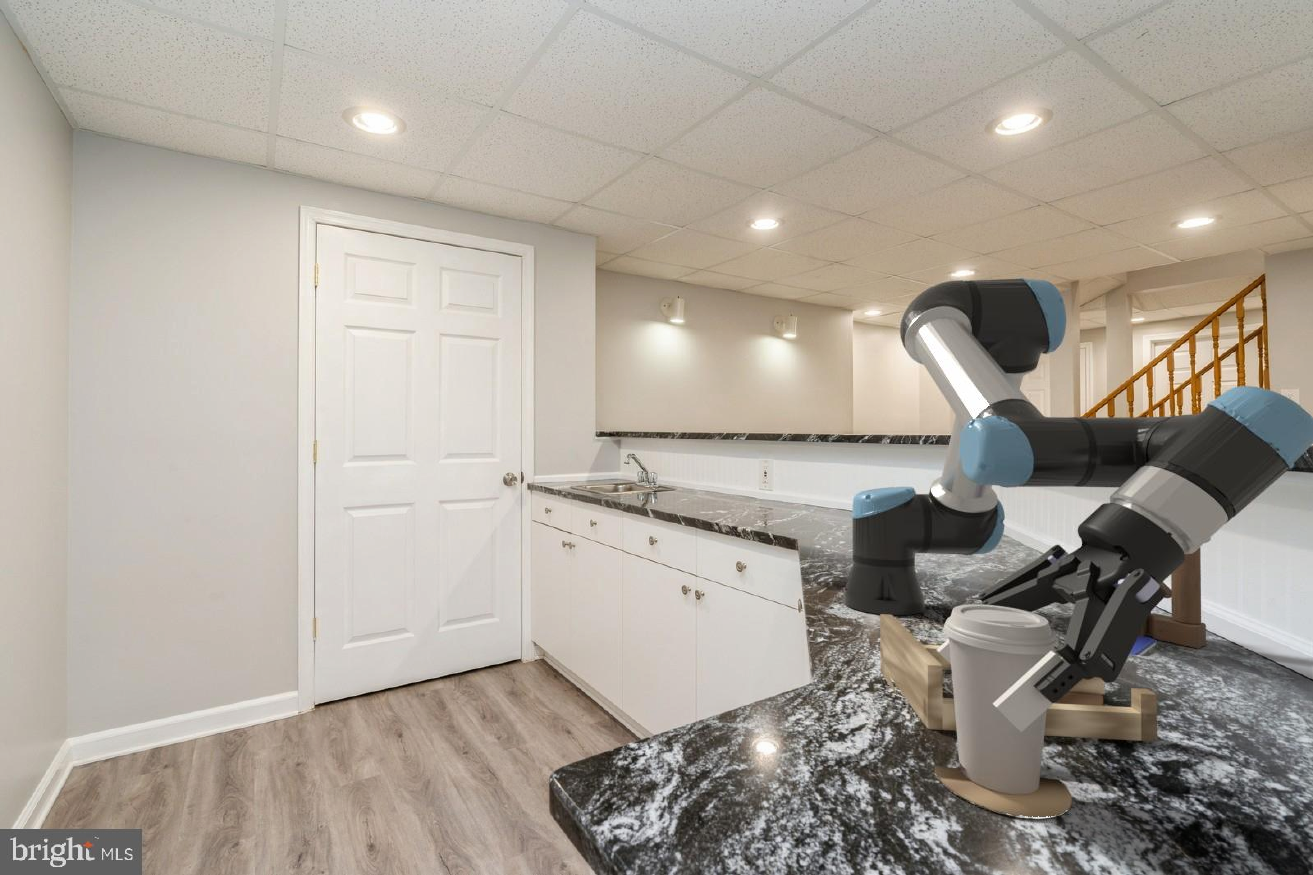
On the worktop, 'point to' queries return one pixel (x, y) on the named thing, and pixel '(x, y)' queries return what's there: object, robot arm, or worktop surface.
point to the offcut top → (1089, 685)
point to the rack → (923, 689)
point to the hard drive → (1142, 645)
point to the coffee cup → (996, 693)
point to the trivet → (1009, 795)
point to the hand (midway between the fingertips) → (973, 686)
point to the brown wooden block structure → (1181, 607)
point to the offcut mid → (1081, 699)
